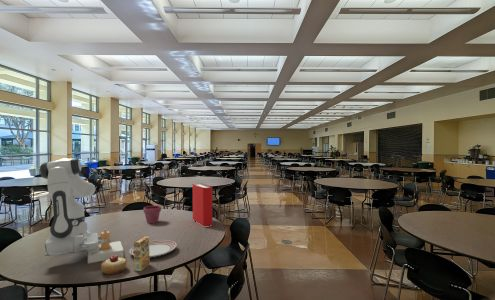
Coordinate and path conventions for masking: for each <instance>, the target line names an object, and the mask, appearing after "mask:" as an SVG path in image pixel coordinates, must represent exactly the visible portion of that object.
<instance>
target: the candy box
mask: <svg viewBox="0 0 495 300" xmlns="http://www.w3.org/2000/svg"><path fill="white" fill-rule="evenodd" d="M149 241H150V237H149V236H141V237H140V238H138V239H137V240H135V241H134V242H133V247H134V255H133V265H134V266H133V267H134V268H133V270H134V272H142V271H143V270H145V269H146V268H147V267H149V266H150V263H151V261H150V259H151V258H150V257H149Z"/></svg>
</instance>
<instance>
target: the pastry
mask: <svg viewBox="0 0 495 300" xmlns="http://www.w3.org/2000/svg"><path fill="white" fill-rule="evenodd" d="M127 262H128V261H127V259H126V258H125V257H124V256H123V257H119V258H118V256H117V255H113V256H111V257H110V259H107V260H104V261H102V262H101V265H100V268H101V269H100V270H101V271H102V273H104V274H105V275H116V274H119V273H122V272H123V271H124V270H125V268H126V266H127V264H128V263H127Z"/></svg>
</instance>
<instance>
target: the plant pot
mask: <svg viewBox="0 0 495 300" xmlns="http://www.w3.org/2000/svg"><path fill="white" fill-rule="evenodd" d="M161 211H162V207H161V206H160V205H148V206H144V207H143V213H144V217H145V221H146V223H147V224H155V222H156V223H158V222H159V218H160V214H161Z"/></svg>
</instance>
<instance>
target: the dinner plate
mask: <svg viewBox="0 0 495 300" xmlns="http://www.w3.org/2000/svg"><path fill="white" fill-rule="evenodd" d="M177 247H178V246H177V243H176V241H173V240H169V239H168V240H167V239H156V240H149V257H150V259H152V257H153V258H158V257H161V255H162V256H164V255H167V254H169V253H170V252H173V251H174V250H175V249H176V248H177ZM128 251H129V254H130V255H132V256H134V246H133V247H132V248H130V249H129V250H128ZM157 256H158V257H157Z"/></svg>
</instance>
